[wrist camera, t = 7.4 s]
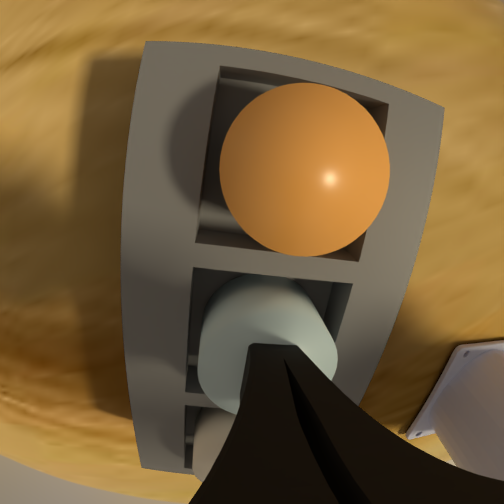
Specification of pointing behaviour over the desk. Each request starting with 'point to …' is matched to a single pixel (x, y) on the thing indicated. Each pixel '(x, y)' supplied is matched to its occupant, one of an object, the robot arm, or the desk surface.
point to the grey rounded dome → (257, 332)
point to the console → (236, 239)
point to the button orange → (304, 169)
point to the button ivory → (209, 438)
